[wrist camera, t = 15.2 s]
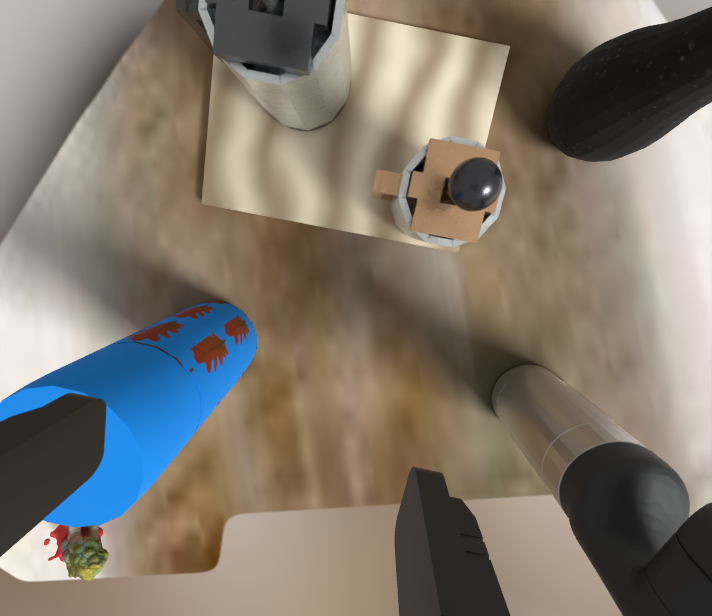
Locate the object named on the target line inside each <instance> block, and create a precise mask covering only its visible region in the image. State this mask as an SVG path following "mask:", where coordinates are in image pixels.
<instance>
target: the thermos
mask: <svg viewBox="0 0 712 616" xmlns="http://www.w3.org/2000/svg"><path fill="white" fill-rule="evenodd" d="M256 349H257V335H256V332H255V330H254V327H253V324H252V322H251V321H250V320H249V319H248V317H247V316H246V315H245V314H244V313H243V312H242V311H241V310H239V309H237V308H236V307H234V306H233V305H231V304H227V303H223V302H219V301H213V302H204V303H201V304H198V305H195V306H192V307H189V308H187V309H185V310H183V311H181V312H178V313H176V314H174V315H172V316H170V317H168V318H166V319H164V320H161V321H159V322H157V323H155V324H153V325H151V326H149V327H147V328H144V329H142V330H140V331H138V332H136V333H134V334H132V335H130V336H128V337H125V338H123V339H121V340H119V341H117V342H115V343H113V344H111V345H108V346H106V347H104V348H102V349H100V350H98V351H96V352H94V353H91V354H89V355H87V356H85V357H83V358H81V359H79V360H77V361H74V362H72V363H70V364H68V365H66V366H64V367H62V368H60V369H57V370H55V371H53V372H51V373H49V374H47V375H45V376H43V377H41V378H39V379H37V380H35V381H34V382H32V383H30V384H28V385H26V386H24V387H23V388H21V389H20V390H18V391H16V392H15V393H13V394H12V395H10V396H9V397H7V398H5V399H4V400H2V402H1V403H0V422H1V421H3V420H5V419H7V418H9V417H11V416H14V415H17V414H20V413H24V412H27V411H30V410H33V409H37V408H41V407H42V406H44V405H46V404H48V403H50V402H52V401H54V400H56V399H57V398H59V397H61V396H63V395H65V394H67V393H76V394H81V395H85V396H90V397H95V398H99V399H103V400H104V401H105V403H106V426H105V444H104V455H103V458H102V461H101V463H100V465H99V467H98V469H97V470H96V472H95V473H94V474H93V475H92V477H91V478H90V479H89V480H87V481H86V482H85V483H84V484H83V485H82V486H81V487H79V488H78V489H77V490H76V491H75V492H74V493H73V494H72V495H70V496H69V497H68V498H67V499H66V500H65V501H64V502H62V503H61V504H60V505H59V506H58V507H57V508H56V509H54V510H53V511H52V512H51V513H50V514H49V515H48V516H46V517H45V518H44V519H43V520H45V521H47V522H51V523H56V524H61V525H65V526H70V527H84V526H96V525H101V524H103V523H106V522H108V521H110V520H112V519H115V518H117V517H119V516H121V515H122V514H123V513H124V512H125V511H127V510H128V509H129V508H130V507H131V506H132V505H133V504H134V503H135V502H136V501H137V500H138V499H139V498H140V497H141V496H142V495H143V494H144V493H145V492H146V491H147V490H148V489H149V488H150V487H151V486H152V484H153V483H154V482H155V481H156V480H157V479H158V478H159V476H160V475H161V474H162V473H163V471H164V470H165V469H166V468H167V466H168V465H169V464H170V463H171V462H172V460H173V459H174V458H175V457H176V455H177V454H178V453H179V452H180V450H181V449H182V448H183V447H184V446H185V444H186V443H187V442H188V441H189V439H190V438H191V437H192V436H193V435H194V433H195V432H196V431H197V430H198V428H199V427H200V426H201V425H202V423H203V422H204V421H205V420H206V419H207V417H208V416H209V415H210V414H211V412H212V411H213V410H214V409H215V407H216V406H217V405H218V404H219V403H220V401H221V400H222V399H223V398H224V396H225V395H226V394H227V393H228V392H229V390H230V389H231V388H232V387H233V385H234V384H235V383H236V382H237V380H238V379H239V378H240V377H241V376H242V374H243V373H244V372H245V370H246V369H247V367H248V366H249V364H250V362H251V361H252V359H253V356H254V354H255V351H256Z"/></svg>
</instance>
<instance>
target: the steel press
mask: <svg viewBox="0 0 712 616" xmlns="http://www.w3.org/2000/svg"><path fill="white" fill-rule="evenodd" d="M281 2H284V10H283V17H282V16H277V15H272V14H267V13H264V12H265V11H266V10H267V8H266V6H265V4H264V2H263V0H176V10H177V11H178V12H179V14H180V15H181V16H182V17H183V18H184V19H185V20H186V22H187V23H188V24H189V25H190V26H191V27H192V28H193V30H194V31H195V32H196V33H197V34H198V35H199V36H200V38H201V39H202V40H203V41H204V42H205V43H206V44H207V46H208V47H209V48H210V49H211V50H212V53H213V54H214V55H215V56H216V57H217V58H219V59H220V60H221V61H222V63H225V64H226V65H227V66H228V67H229V69H230V70H231V71H232V72H233V73H234V74H235V75H236V77H237V78H238V79H239V80H240V81H241V82H242V84H243V85H244V86H245V87H246V88H247V89H248V91H249V92H250V93H251V94H252V95H253V96H254V97H255V99H256V100H257V101H258V102H259V103H260V104H261V106H262V107H263V108H264V109H265V110H266V111H268V112H269V113H270V114H271V115H272V116H273V117H274V118H275V119H276V120H277V121H278V122H280V123H281V124H282V125H283V126H286V127H288V128H291V129H294V130H298V131H312V130H317V129H320V128H322V127H324V126H326V125H328V124H329V123H331V122H332V121H333V120H334V119H336V117H337V116H338V115H339V114H340V113H341V111H342V110H343V108H344V106H345V104H346V102H347V100H348V97H349V93H350V86H351V76H352V64H351V52H350V39H349V27H348V14H347V2H346V0H279V3H281ZM328 27H329V30H330V32H331V35H330V37H329V38H328V39H327V41H326V42H325V43H324V45H323V46H322V48H321V49H320V50H319V52H318V53H317V54H316V56H315V57H314V59H313V60H312V53H313V46H314V39H315V32H316V29H317V30H322V31H327V28H328ZM253 65H257V66H262V67H267V68H272V69H277V70H282V71H287V72H288V73H285V74H283V75H280V76H278V75H273V74H268V73H263V72H258V71H255V70H254V67H253Z"/></svg>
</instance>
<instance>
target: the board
mask: <svg viewBox="0 0 712 616" xmlns="http://www.w3.org/2000/svg"><path fill="white" fill-rule="evenodd" d="M347 14H348V27H349V39H350V52H351V64H352V76H351V86H350V93H349V97H348V100H347V102H346V104H345V106H344V108H343V110H342V111H341V113H340V114H339V115H338V116H337V117H336V119H334V120H333V121H332V122H331V123H329V124H328V125H326V126H324V127H322V128H320V129H317V130H312V131H298V130H294V129H291V128H288V127H286V126H283V125H282V124H281V123H280V122H278V121H277V120H276V119H275V118H274V117H273V116H272V115H271V114H270V113H269V112H268V111H266V110H265V109H264V108H263V107H262V106H261V104H260V103H259V102H258V101H257V100H256V99H255V97H254V96H253V95H252V94H251V93H250V92H249V91H248V89H247V88H246V87H245V86H244V85H243V84H242V82H241V81H240V80H239V79H238V78H237V77H236V75H235V74H234V73H233V72H232V71H231V70H230V69H229V67H228V66H227V65H226V64H225V63H222V61H221V60H220V59H219V58H217V57H216V56H215V55H214V58H213V70H212V82H211V94H210V106H209V118H208V131H207V143H206V155H205V167H204V179H203V191H202V204H205V205H210V206H215V207H221V208H226V209H231V210H236V211H242V212H247V213H252V214H257V215H262V216H268V217H273V218H278V219H283V220H289V221H294V222H299V223H304V224H310V225H315V226H320V227H325V228H331V229H336V230H341V231H346V232H352V233H357V234H362V235H367V236H372V237H378V238H383V239H388V240H393V241H399V242H404V243H409V244H414V245H420V246H425V247H430V248H435V249H441V250H446V251H451V252H456V253H458V252H459V248H460V245H458V246H455V247H449V246H443V245H438V244H433V243H428V242H424V241H420V240H417V239H413V238H410V237H409V236H408V235H407V234H405V233H404V232H403V231H402V230H401V229H400V228H399V227H398V226H397V225H396V224H395V221H394V219H393V217H392V214H391V210H390V206H389V204H390V201H386V200H381V199H376V198H371V195H372V190H373V184H374V179H375V175H376V170H377V169H378V170H383V171H384V170H385V171H390V172H395V173H400V174H401V173H402V171H403V170H404V168H405V167H406V166H407V165H408V164H409V162H410V161H411V160H412V159H413V158H414V156H415V155H416V154H417V153H418V152H419V150H420V149H421V148H422V147H423V146H425V145H427V144H428V143H429V140H430V139H431V138H434V139H439V140H440V139H443V138H446V137H448V136H455V137H460V138H465V139H470V140H475V141H478V142H480V143H481V144H482V145H483V146H484V147H485V145H486V141H487V137H488V133H489V129H490V125H491V121H492V117H493V113H494V109H495V105H496V101H497V97H498V93H499V89H500V85H501V81H502V77H503V73H504V69H505V65H506V61H507V57H508V53H509V49H510V46H507V45H502V44H497V43H492V42H487V41H482V40H477V39H472V38H467V37H462V36H458V35H453V34H448V33H443V32H438V31H433V30H428V29H423V28H418V27H413V26H408V25H403V24H399V23H394V22H389V21H384V20H379V19H374V18H369V17H364V16H359V15H354V14H349V13H347Z"/></svg>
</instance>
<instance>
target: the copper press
mask: <svg viewBox="0 0 712 616" xmlns="http://www.w3.org/2000/svg"><path fill="white" fill-rule="evenodd" d="M500 153H501V152H499V151H494V150H489V149H486V148H485V147H484V146H483V145H482V144H481V143H480V142H478V141H475V140H470V139H465V138H460V137H455V136H448V137H446V138H443V139H440V140H439V139H434V138H431V139H430V140H429V143H428V144H427V145H425V146H423V147H422V148H421V149H420V150H419V152H418V153H417V154H416V155H415V156H414V158H413V159H412V160H411V161H410V162H409V164H408V165H407V166H406V167H405V168H404V170H403V171H402V173H401V174H400V173H395V172H390V171H385V170H384V171H383V170H378V169H377V170H376V175H375V179H374V184H373V190H372V195H371V198H376V199H381V200H386V201H390V204H389V206H390V210H391V214H392V217H393V219H394V221H395V224H396V225H397V226H398V227H399V228H400V229H401V230H402V231H403V232H404V233H405V234H407V235H408V236H409V237H410V238H413V239H417V240H420V241H424V242H428V243H433V244H438V245H443V246H449V247H455V246H458V245H460V244H463V243H466V242H472V243H477V241H478V238H479V237H480V236H481V235H482V234H483V233H484V232H485V231H486V230H487V229H488V228H489V226H490V225H491V224H492V223H493V222H494V221H495V220H496V219H497V218H498V216H499V212H500V208H501V205H502V201H503V197H504V194H505V190H506V188H505V184H504V180H503V185H502V190H501V193H500V195H499V197H498V198H497V199H496V201H495V202H494V203H493V204H492V205H490V206H489V207H488V208H486V209H483V210H481V211H476V212H470V211H465V210H462V209H460V208H459V207H457V206H454V205H449V204H444V203H440V198H441V194H442V190H443V185H444V181H445V179H450V176H451V174H452V172H453V171H454V169H455V168H456V167H457V166H458V165H459V164H460V163H461V162H463V161H465V160H467V159H469V158H473V157H484V158H487V159H489V160H491V161H493V162H494V163H495V164H496V165H497V166H498V167H499V169H500V171H501V168H500V164H499V157H500ZM422 170H423V171H422ZM421 171H422V172H421ZM501 174H502V172H501ZM502 178H503V176H502ZM409 184H410V185H409ZM408 186H409V190H408V195H407V197H408V198H413V199H416V203H415V208H414V213H413V217H412V216H411V213H410V210H409V207H408V203H407V200H406V193H407V188H408Z"/></svg>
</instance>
